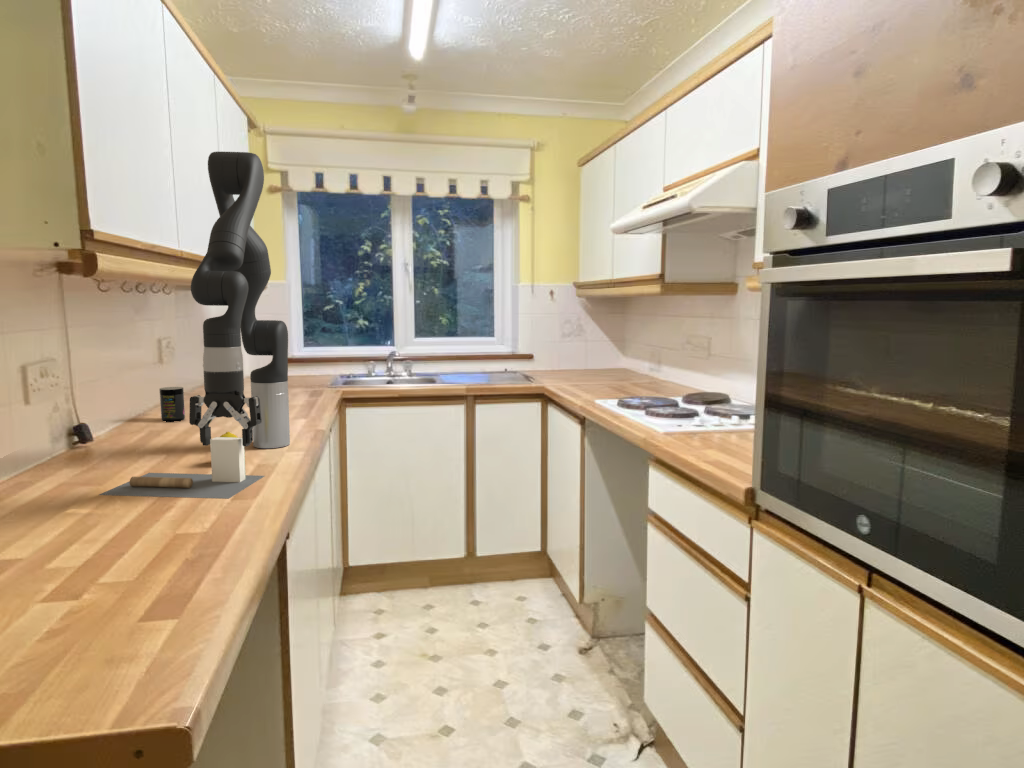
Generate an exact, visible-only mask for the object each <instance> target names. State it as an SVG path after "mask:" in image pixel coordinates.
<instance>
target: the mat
mask: <svg viewBox="0 0 1024 768" xmlns="http://www.w3.org/2000/svg"><path fill="white" fill-rule="evenodd" d="M139 477H168V478H192V480H193V485H192V487H191V488H168V487H132V486H130V480H129V481H127V482H124V483H122V484H120V485H117V486H115V487H113V488H111V489H108V490H105V491H103V492H101V493H99V494H98V496H113V497H114V496H118V497H121V496H122V497H148V498H149V497H151V498H152V497H153V498H154V497H155V498H187V499H193V498H194V499H222V500H223V499H225V500H227V499H228V500H229V499H231V498H232V497H234V496H235V495H237V494H239V493H241V492H242V491H244V490H245V489H247V488H248V487H250V486H252V485H253V484H255V483H257V482H258V481H259V480H262V478H265V475H256V474H255V475H253V474H251V475H250V474H246V479H245V480H243V481H241V482H212V473H211V474H210V473H209V474H207V473H179V472H178V473H174V472H173V473H172V472H171V473H170V472H148V473H145V474H144V475H141V476H139Z"/></svg>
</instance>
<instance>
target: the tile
mask: <svg viewBox="0 0 1024 768" xmlns="http://www.w3.org/2000/svg"><path fill="white" fill-rule="evenodd" d="M209 446H210V462H211V474H212V482H241V481H243V480H245V479H246V475H247V474H246V459H245V457H246V456H245V453H246V452H245V446H243V443H242V437H238V438H236V437H220V436H215V437H212V438H211V439H210V445H209Z"/></svg>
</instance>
